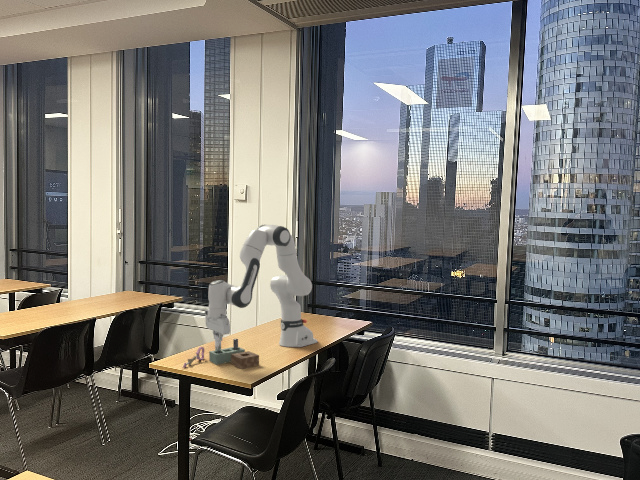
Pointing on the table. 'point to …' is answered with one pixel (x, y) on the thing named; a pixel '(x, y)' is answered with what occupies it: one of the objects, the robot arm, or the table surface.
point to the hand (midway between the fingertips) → (218, 340)
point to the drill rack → (223, 355)
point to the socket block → (245, 359)
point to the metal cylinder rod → (217, 343)
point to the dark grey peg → (235, 344)
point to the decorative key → (195, 357)
